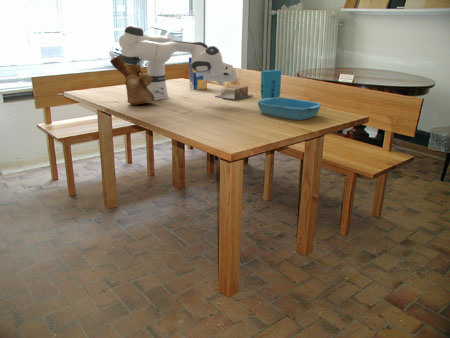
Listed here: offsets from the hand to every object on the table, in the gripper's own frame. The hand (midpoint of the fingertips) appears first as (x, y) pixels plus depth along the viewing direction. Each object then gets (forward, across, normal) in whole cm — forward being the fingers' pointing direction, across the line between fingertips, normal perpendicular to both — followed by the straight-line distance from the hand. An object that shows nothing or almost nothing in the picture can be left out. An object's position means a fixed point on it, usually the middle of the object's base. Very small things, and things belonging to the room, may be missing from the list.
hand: (221, 83), depth 278 cm
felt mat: (+21, +3, +7) cm, 22 cm away
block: (+9, +30, -6) cm, 32 cm away
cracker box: (+38, -31, +24) cm, 55 cm away
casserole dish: (-8, +45, -26) cm, 53 cm away
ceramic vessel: (-7, -46, -24) cm, 52 cm away
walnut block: (+12, +1, +2) cm, 12 cm away
